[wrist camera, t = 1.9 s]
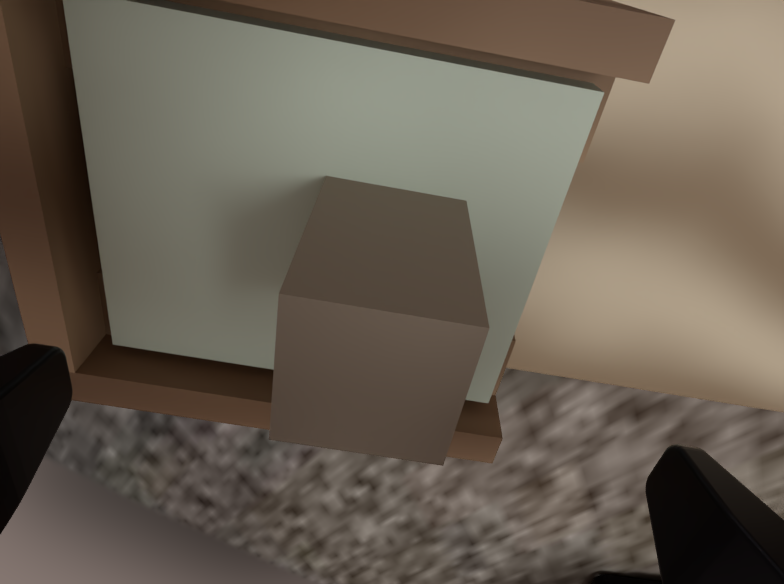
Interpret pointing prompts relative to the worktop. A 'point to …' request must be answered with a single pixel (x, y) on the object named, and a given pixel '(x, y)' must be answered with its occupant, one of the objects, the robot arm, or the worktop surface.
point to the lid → (320, 210)
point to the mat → (676, 222)
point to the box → (74, 203)
